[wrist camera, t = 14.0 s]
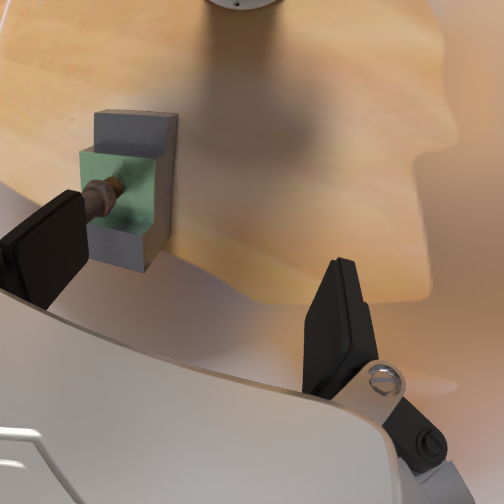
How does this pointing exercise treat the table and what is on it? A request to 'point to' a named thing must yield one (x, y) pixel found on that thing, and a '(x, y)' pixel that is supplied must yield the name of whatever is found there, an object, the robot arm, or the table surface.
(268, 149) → the table surface
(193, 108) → the table surface
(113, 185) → the bolt
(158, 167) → the stepped stand
